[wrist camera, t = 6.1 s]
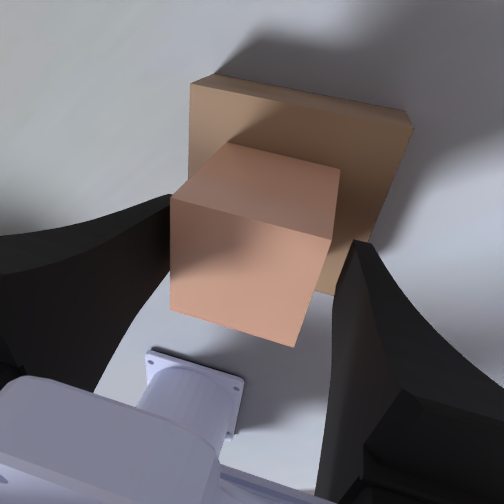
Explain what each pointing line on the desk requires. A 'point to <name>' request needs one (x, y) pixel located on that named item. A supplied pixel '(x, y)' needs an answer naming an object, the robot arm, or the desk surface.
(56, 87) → the desk surface
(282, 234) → the terracotta block
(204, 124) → the walnut slab
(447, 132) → the desk surface
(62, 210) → the desk surface
